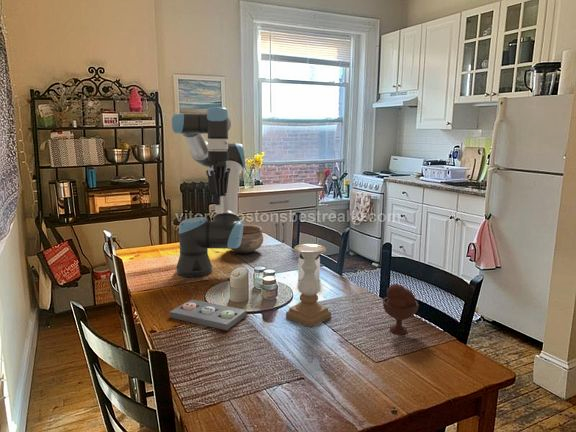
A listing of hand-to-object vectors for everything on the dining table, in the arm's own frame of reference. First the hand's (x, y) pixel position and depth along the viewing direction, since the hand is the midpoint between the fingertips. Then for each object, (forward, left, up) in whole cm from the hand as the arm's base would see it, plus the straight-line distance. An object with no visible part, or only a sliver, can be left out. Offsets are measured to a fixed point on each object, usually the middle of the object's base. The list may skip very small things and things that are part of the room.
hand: (219, 212), depth 170 cm
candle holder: (+42, -12, -30) cm, 53 cm away
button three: (+12, -26, -30) cm, 42 cm away
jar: (+28, +23, -30) cm, 47 cm away
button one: (+20, -26, -30) cm, 44 cm away
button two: (+5, -26, -30) cm, 40 cm away
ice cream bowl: (+71, -9, -30) cm, 77 cm away
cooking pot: (-16, +46, -30) cm, 57 cm away
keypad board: (+12, -26, -29) cm, 41 cm away
